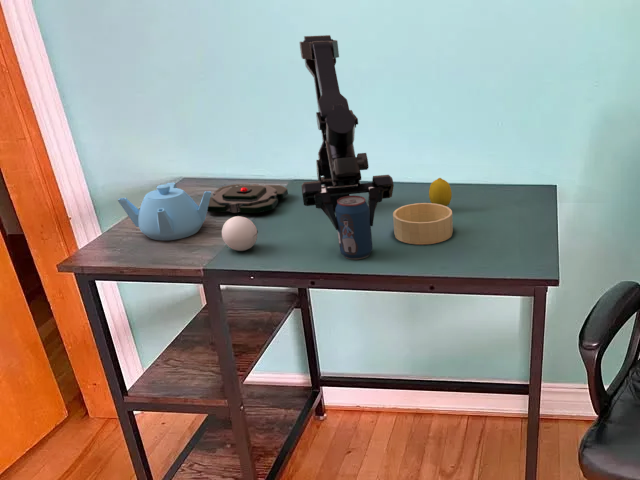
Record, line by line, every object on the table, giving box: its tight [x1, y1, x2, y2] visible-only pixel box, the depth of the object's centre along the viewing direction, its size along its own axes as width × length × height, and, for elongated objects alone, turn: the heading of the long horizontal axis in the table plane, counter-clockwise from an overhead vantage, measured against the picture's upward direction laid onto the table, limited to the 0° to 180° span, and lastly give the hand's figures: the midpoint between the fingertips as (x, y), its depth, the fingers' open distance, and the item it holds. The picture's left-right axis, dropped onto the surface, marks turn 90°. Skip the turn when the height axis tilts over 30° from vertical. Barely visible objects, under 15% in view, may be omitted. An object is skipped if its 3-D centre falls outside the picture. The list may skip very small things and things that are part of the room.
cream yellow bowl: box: [392, 202, 454, 246], centre depth 162 cm, size 13×13×5 cm
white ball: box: [221, 215, 259, 252], centre depth 155 cm, size 10×7×7 cm
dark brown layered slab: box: [207, 183, 289, 214], centre depth 180 cm, size 18×18×5 cm
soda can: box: [334, 194, 374, 261], centre depth 150 cm, size 7×7×12 cm
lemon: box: [428, 177, 453, 207], centre depth 175 cm, size 6×6×8 cm
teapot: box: [117, 182, 212, 241], centre depth 162 cm, size 15×15×11 cm
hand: (354, 227), depth 148 cm, fingers closed on soda can, 7 cm apart
